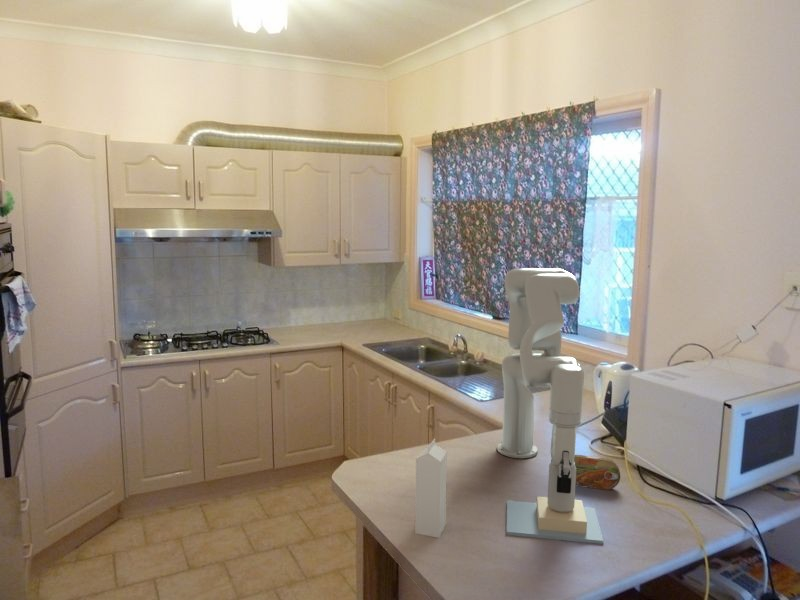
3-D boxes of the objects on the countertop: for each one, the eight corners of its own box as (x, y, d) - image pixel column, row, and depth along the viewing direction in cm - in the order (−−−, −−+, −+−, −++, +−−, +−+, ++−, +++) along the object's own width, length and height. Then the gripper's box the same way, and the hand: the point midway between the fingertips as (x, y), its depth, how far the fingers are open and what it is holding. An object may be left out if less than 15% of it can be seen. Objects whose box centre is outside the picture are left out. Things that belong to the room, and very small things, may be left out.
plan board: (507, 503, 162) (507, 489, 162) (594, 510, 158) (594, 496, 158) (506, 534, 147) (507, 519, 146) (603, 544, 143) (604, 528, 142)
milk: (415, 534, 147) (415, 445, 143) (422, 521, 152) (422, 436, 149) (440, 538, 145) (440, 448, 142) (446, 525, 151) (447, 439, 147)
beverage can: (554, 499, 156) (556, 454, 155) (578, 507, 152) (580, 460, 151) (542, 508, 151) (544, 461, 150) (567, 516, 147) (569, 468, 146)
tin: (562, 483, 174) (563, 455, 173) (563, 479, 177) (565, 451, 176) (619, 492, 169) (621, 463, 167) (619, 487, 172) (621, 458, 170)
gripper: (547, 403, 157) (544, 467, 160) (551, 428, 140) (548, 498, 143) (577, 405, 156) (574, 469, 159) (585, 430, 139) (581, 501, 142)
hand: (561, 483), depth 151 cm, fingers open, 9 cm apart
